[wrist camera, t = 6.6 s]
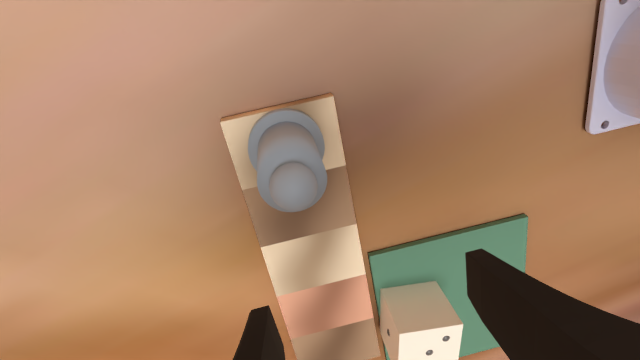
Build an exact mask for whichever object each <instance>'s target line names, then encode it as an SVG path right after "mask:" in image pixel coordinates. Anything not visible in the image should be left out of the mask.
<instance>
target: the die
mask: <svg viewBox="0 0 640 360" xmlns="http://www.w3.org/2000/svg"><path fill="white" fill-rule="evenodd" d="M462 330H463V323H462V321H461V320H460V318H459V317H458V315H457V313H456V312H455V310H454V309H453V307H452V306H451V304H450V302H449V301H448V299H447V298H446V296H445V295H444V293H443V291H442V290H441V288H440V287H439V285H438V283H437V282H436V281H431V282H424V283H418V284H411V285H404V286H397V287H390V288H383V289H380V333H381V336H382V339H383V341H384V344H385V347H386V350H387V352H388V355H389V358H390V360H458V358H459V351H460V344H461V337H462Z"/></svg>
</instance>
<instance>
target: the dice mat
mask: <svg viewBox="0 0 640 360" xmlns="http://www.w3.org/2000/svg"><path fill="white" fill-rule="evenodd" d="M527 228H528V216H527V215H525V214H522V215H518V216H514V217H510V218H506V219H502V220H498V221H494V222H490V223H486V224H482V225H478V226H474V227H470V228H466V229H462V230H458V231H454V232H450V233H446V234H442V235H438V236H434V237H430V238H426V239H422V240H418V241H414V242H410V243H406V244H402V245H398V246H394V247H390V248H386V249H382V250H378V251H374V252H370V253H368V257H369V262H370V268H371V274H372V280H373V286H374V292H375V297H376V303H377V309H378V315H379V321H380V289H383V288H390V287H397V286H404V285H411V284H418V283H424V282H431V281H436V282H437V283H438V285H439V287H440V288H441V290H442V291H443V293H444V295H445V296H446V298H447V299H448V301H449V302H450V304H451V306H452V307H453V309H454V310H455V312H456V313H457V315H458V317H459V318H460V320H461V321H462V323H463V330H462V337H461V344H460V351H459V357H462V356H466V355H470V354H473V353H477V352H481V351H485V350H488V349H492V348H496V347H500V345H499V344H498V343H497V341H496V340H495V339H494V337H493V336H492V334H491V333H490V332H489V330H488V329H487V328H486V326H485V325H484V323H483V322H482V321H481V319H480V317H479V315H478V314H477V312H476V310H475V308H474V307H473V305H472V303H471V301H470V299H469V298H468V296H467V279H466V258H465V253H466V252H469V251H473V250H477V249H481V248H482V249H484V250H486V251H487V252H489V253H491V254H492V255H494V256H496V257H498V258H499V259H501V260H503V261H504V262H506V263H508V264H510V265H511V266H513V267H515V268H517V269H518V270H520V271H522V272H524V273H525V262H526V245H527ZM383 344H384V341H383ZM384 350H385V355H386V360H390V358H389V355H388V352H387V350H386V347H385V344H384Z"/></svg>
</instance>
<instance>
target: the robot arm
mask: <svg viewBox="0 0 640 360" xmlns="http://www.w3.org/2000/svg"><path fill="white" fill-rule="evenodd" d="M603 122H604V123H603ZM602 123H603V125H602ZM639 123H640V0H621V1H620V3H619V0H601V3H600V10H599V19H598V27H597V35H596V43H595V51H594V59H593V67H592V76H591V84H590V92H589V100H588V108H587V116H586V124H585V130H586V131H587V132H588V133H591V134H598V133H602V132H607V131H611V130H615V129H619V128H623V127H627V126H631V125H635V124H639ZM601 125H602V126H601ZM465 258H466V279H467V296H468V298H469V299H470V301H471V303H472V305H473V307H474V308H475V310H476V312H477V314H478V315H479V317H480V319H481V321H482V322H483V323H484V325H485V326H486V328H487V329H488V330H489V332H490V333H491V334H492V336H493V337H494V339H495V340H496V341H497V343H498V344H499V345H500V347H501V348H502V349H503V351H504V352H505V353H506V355H507V356H508V357H509V359H510V360H640V324H639V323H636V322H633V321H630V320H627V319H624V318H621V317H619V316H616V315H613V314H611V313H608V312H605V311H603V310H601V309H598V308H596V307H593V306H591V305H589V304H586V303H584V302H581V301H579V300H577V299H575V298H572V297H570V296H568V295H566V294H564V293H562V292H560V291H558V290H556V289H554V288H552V287H550V286H548V285H546V284H544V283H542V282H540V281H538V280H536V279H535V278H533V277H531V276H529V275H527V274H525V273H524V272H522V271H520V270H518V269H517V268H515V267H513V266H511V265H510V264H508V263H506V262H504V261H503V260H501V259H499V258H498V257H496V256H494V255H492V254H491V253H489V252H487V251H486V250H484V249H482V248H481V249H477V250H473V251H469V252H466V253H465ZM233 360H285V354H284V346H283V343H282V340H281V338H280V335H279V332H278V329H277V327H276V324H275V321H274V318H273V316H272V313H271V310H270V308H269V305H268V306H265V307H261V308H257V309H253V310H251V312H250V313H249V317H248V320H247V323H246V326H245V329H244V332H243V335H242V337H241V340H240V343H239V346H238V348H237V351H236V353H235V355H234V358H233Z"/></svg>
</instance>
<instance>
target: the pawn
mask: <svg viewBox="0 0 640 360" xmlns="http://www.w3.org/2000/svg"><path fill="white" fill-rule="evenodd" d="M324 151H325V144H324V139H323V135H322V133H321V131H320V129H319V127H318V125H317V124H316V122H315V121H314V120H313V119H312V118H311V117H310V116H308V115H307V114H305V113H304V112H302V111H299V110H296V109H290V108H281V109H276V110H273V111H270V112H268V113H266V114H265V115H263V116H262V117H261V118H260V119H259V120H258V121H257V122H256V123H255V124H254V126H253V128H252V130H251V132H250V135H249V140H248V155H249V159H250V161H251V164H252V165H253V167H254V168H255V170H256V171H257V187H258V191H259V193H260V195H261V197H262V198H263V200H264V201H265V202H266V203H267V204H268V205H270V206H271V207H273V208H275V209H277V210H280V211H284V212H298V211H302V210H305V209H307V208H309V207H311V206H313V205H314V204H315V203H316V202H318V201H319V199H320V198H321V197H322V195H323V194H324V192H325V189H326V186H327V173H326V169H325V167H324V164H323V161H322V159H323V156H324Z"/></svg>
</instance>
